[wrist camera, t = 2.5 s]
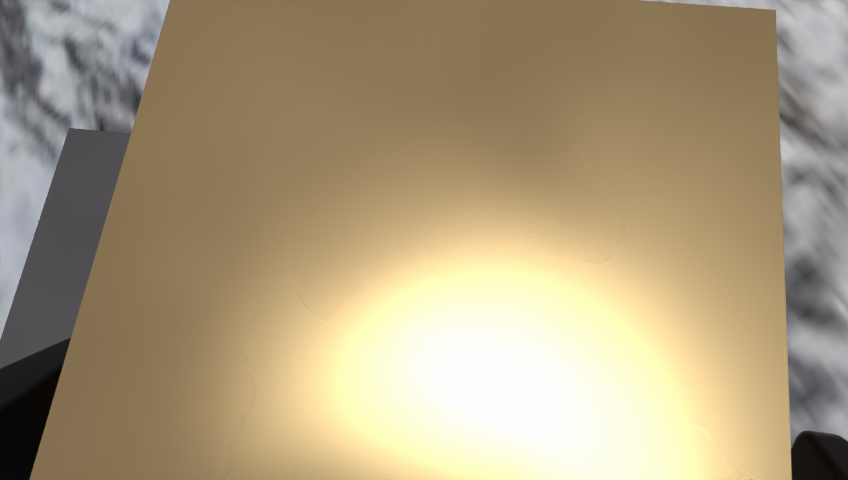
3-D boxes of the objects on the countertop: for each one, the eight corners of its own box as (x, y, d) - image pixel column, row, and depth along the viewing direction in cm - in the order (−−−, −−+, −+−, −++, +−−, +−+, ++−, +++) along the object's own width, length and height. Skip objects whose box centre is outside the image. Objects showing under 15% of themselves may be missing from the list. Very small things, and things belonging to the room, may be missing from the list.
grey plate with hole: (780, 714, 14) (799, 730, 13) (-52, 572, 16) (-78, 579, 15) (767, 207, 18) (780, 196, 17) (84, 140, 19) (69, 128, 19)
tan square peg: (549, 518, 16) (801, 748, 4) (333, 486, 16) (-7, 606, 4) (564, 302, 17) (775, 9, 6) (366, 279, 18) (179, -32, 6)
